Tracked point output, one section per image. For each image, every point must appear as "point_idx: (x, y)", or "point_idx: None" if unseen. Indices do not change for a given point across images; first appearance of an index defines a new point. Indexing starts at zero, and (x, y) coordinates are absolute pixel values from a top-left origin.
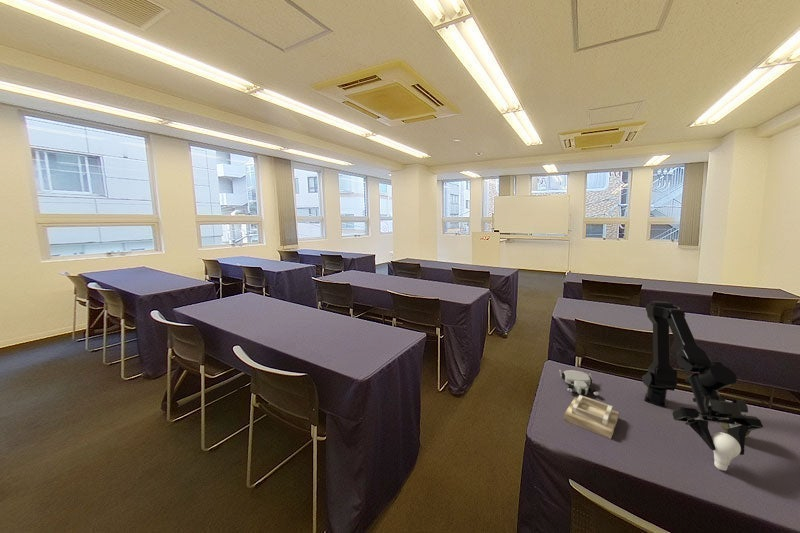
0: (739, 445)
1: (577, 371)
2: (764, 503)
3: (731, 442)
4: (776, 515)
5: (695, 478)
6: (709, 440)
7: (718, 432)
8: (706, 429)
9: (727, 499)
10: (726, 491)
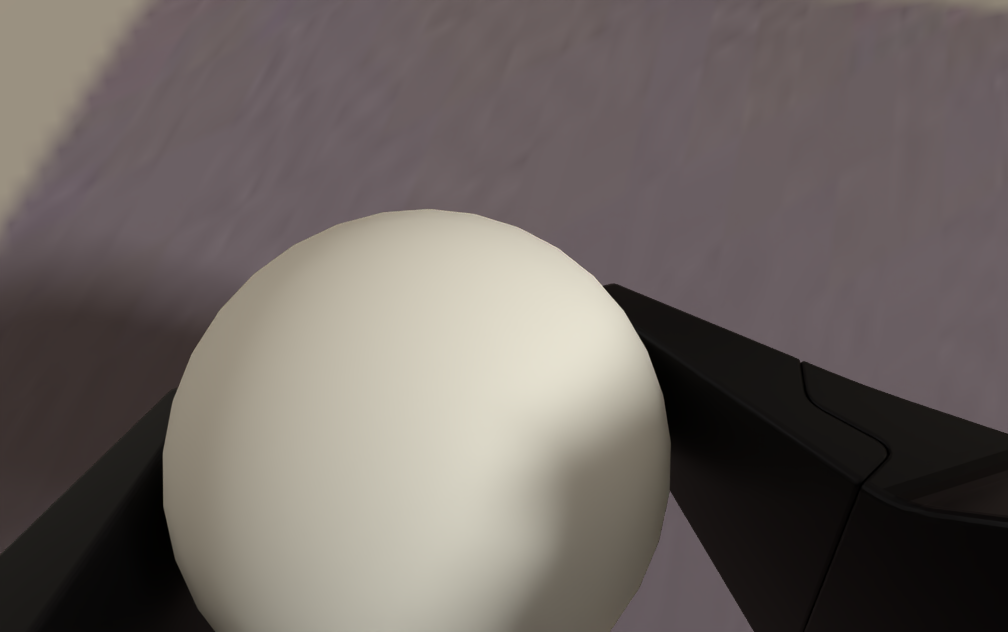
0: (202, 338)
1: None
2: (255, 115)
3: (379, 246)
4: (234, 17)
5: (681, 178)
6: (715, 328)
7: (562, 575)
8: (906, 450)
9: (518, 36)
10: (493, 127)
